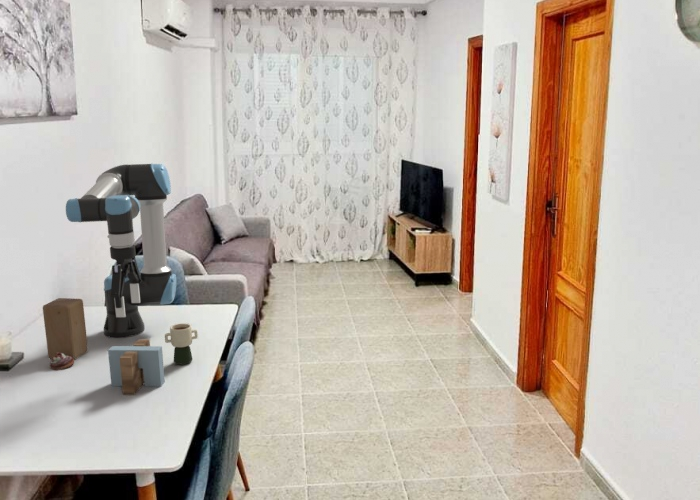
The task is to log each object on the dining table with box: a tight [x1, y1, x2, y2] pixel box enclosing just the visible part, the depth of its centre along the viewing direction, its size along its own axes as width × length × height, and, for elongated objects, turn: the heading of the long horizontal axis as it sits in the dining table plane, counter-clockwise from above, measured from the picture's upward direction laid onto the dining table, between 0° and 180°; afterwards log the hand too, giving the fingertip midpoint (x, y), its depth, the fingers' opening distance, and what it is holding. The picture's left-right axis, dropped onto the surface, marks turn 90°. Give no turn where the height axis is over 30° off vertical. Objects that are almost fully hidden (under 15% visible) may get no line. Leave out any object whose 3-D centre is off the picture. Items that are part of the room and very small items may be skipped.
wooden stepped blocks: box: [120, 338, 151, 396], centre depth 213 cm, size 16×4×12 cm, turn 176°
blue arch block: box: [107, 345, 166, 387], centre depth 213 cm, size 16×4×12 cm, turn 87°
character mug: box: [164, 323, 199, 365], centre depth 230 cm, size 11×7×13 cm, turn 112°
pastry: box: [49, 352, 75, 371], centre depth 230 cm, size 8×8×5 cm
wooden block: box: [42, 297, 89, 361], centre depth 238 cm, size 10×10×20 cm
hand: (128, 309), depth 217 cm, fingers open, 13 cm apart
